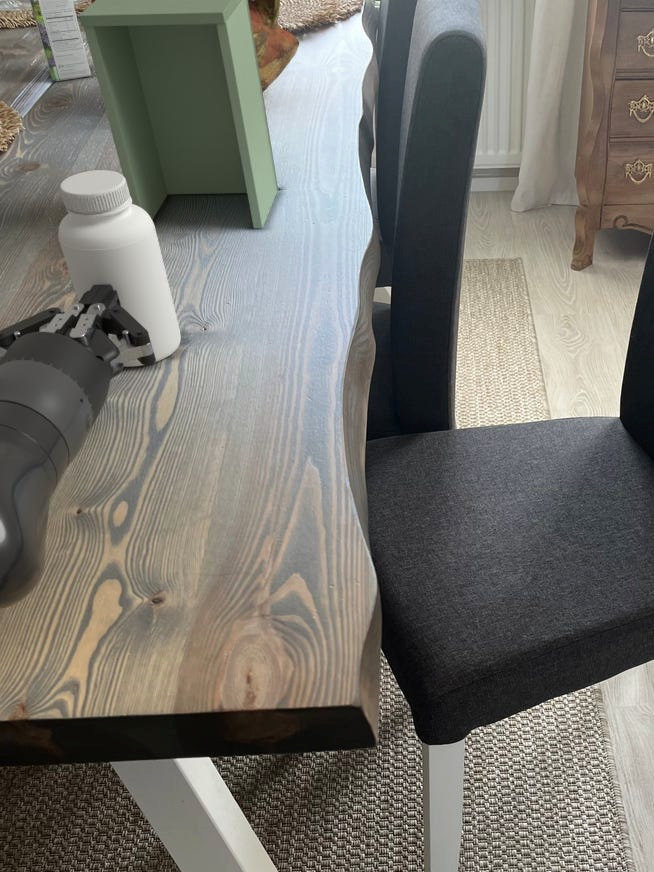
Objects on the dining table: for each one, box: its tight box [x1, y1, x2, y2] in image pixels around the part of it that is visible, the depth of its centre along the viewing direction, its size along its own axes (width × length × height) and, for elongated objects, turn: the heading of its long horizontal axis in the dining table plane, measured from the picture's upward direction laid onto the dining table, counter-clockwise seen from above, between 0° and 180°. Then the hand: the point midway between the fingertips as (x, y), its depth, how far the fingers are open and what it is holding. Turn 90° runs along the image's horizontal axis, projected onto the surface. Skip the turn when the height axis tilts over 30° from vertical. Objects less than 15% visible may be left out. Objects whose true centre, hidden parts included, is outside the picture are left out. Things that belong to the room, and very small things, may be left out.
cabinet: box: [78, 0, 279, 229], centre depth 108 cm, size 12×14×21 cm
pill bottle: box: [58, 169, 182, 368], centre depth 88 cm, size 8×8×15 cm
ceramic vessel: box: [90, 0, 300, 93], centre depth 132 cm, size 17×26×25 cm, turn 108°
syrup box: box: [29, 0, 92, 82], centre depth 147 cm, size 6×6×14 cm
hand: (106, 295), depth 85 cm, fingers closed
